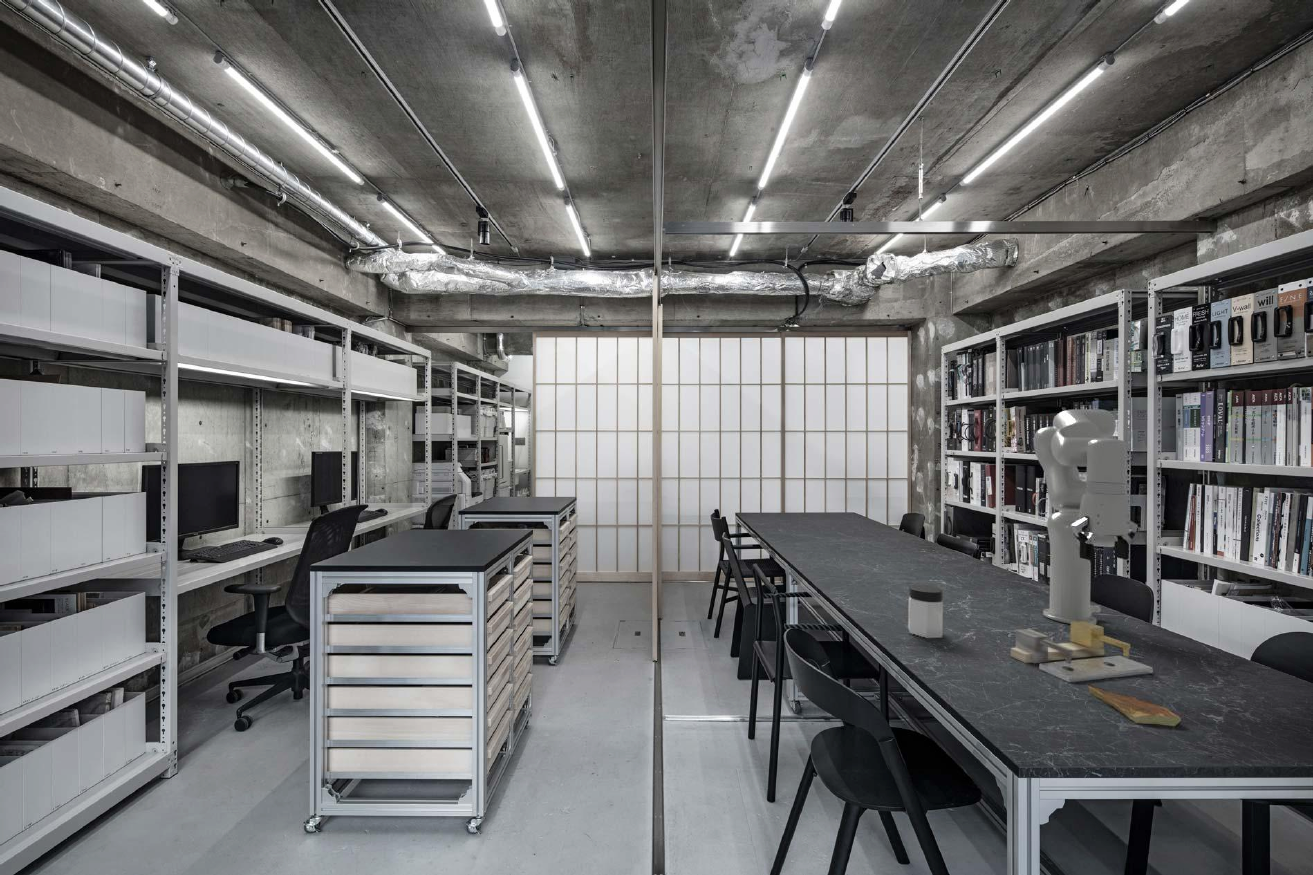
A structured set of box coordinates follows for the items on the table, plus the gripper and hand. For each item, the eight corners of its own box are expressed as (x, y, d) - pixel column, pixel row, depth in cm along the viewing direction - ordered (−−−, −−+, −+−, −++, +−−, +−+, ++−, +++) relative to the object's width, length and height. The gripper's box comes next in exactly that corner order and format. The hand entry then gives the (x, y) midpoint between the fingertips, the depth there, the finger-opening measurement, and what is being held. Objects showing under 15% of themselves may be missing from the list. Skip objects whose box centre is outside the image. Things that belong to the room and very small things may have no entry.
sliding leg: (1082, 639, 138) (1083, 620, 139) (1134, 658, 127) (1135, 637, 127) (1070, 640, 138) (1070, 621, 138) (1121, 659, 126) (1122, 638, 126)
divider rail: (1085, 648, 139) (1086, 624, 139) (1137, 667, 127) (1138, 641, 127) (1008, 655, 133) (1009, 630, 133) (1056, 676, 121) (1056, 649, 121)
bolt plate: (1119, 660, 131) (1119, 655, 131) (1152, 672, 124) (1152, 667, 124) (1039, 668, 125) (1039, 663, 125) (1069, 682, 118) (1069, 676, 118)
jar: (948, 634, 147) (949, 589, 147) (935, 641, 141) (936, 594, 142) (915, 625, 154) (916, 582, 154) (901, 631, 148) (901, 586, 148)
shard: (1086, 692, 114) (1087, 682, 114) (1136, 696, 113) (1136, 686, 113) (1132, 725, 101) (1132, 713, 101) (1188, 729, 100) (1188, 717, 100)
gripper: (1121, 487, 140) (1120, 554, 140) (1060, 487, 138) (1059, 555, 138) (1152, 491, 133) (1150, 561, 133) (1088, 491, 130) (1086, 563, 131)
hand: (1103, 558), depth 136 cm, fingers open, 9 cm apart
